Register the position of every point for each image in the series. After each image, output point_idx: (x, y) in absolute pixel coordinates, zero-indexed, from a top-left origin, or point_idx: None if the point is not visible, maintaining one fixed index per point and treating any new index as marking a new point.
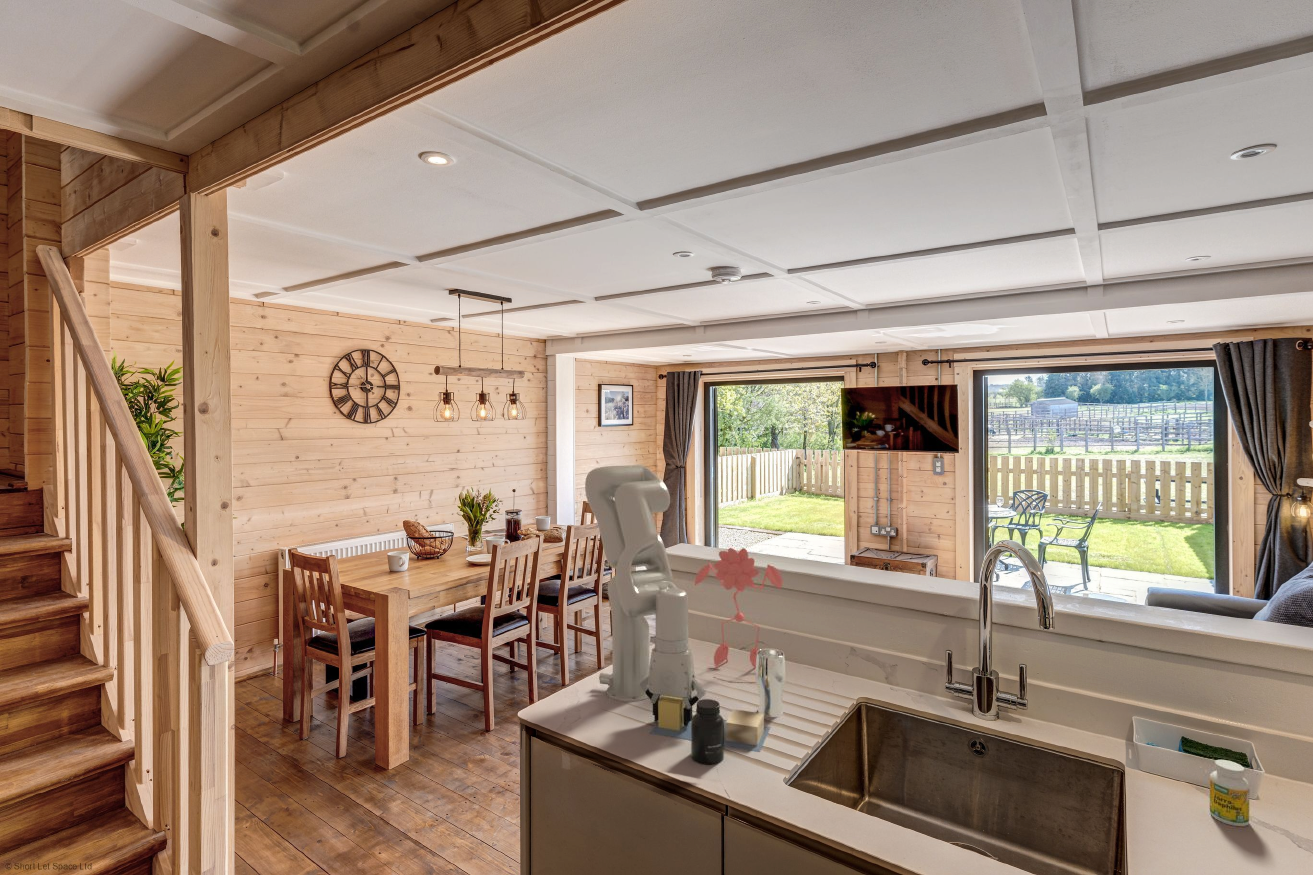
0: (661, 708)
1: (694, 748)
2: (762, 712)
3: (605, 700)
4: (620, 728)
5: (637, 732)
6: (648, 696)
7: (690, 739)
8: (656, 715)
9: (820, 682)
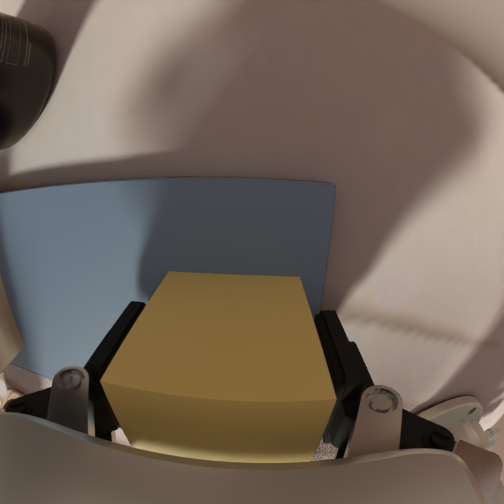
0: (292, 351)
1: (6, 14)
2: None
3: (485, 388)
4: (466, 234)
5: (398, 215)
6: (422, 421)
7: (81, 190)
8: (328, 329)
9: None
